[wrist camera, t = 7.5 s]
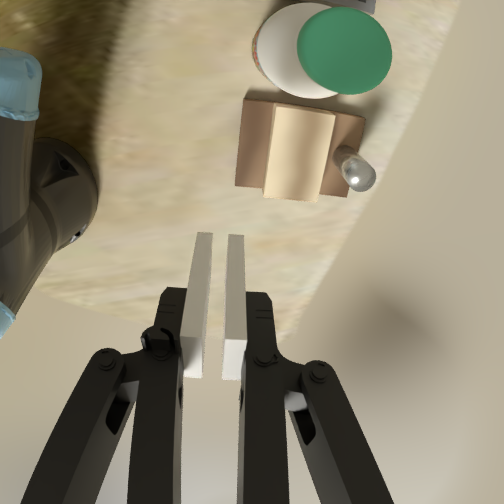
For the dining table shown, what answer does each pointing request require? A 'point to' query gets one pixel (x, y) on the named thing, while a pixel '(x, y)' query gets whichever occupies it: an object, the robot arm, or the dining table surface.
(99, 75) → the dining table surface
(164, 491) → the robot arm
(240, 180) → the board
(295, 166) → the light wooden block
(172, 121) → the dining table surface
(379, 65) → the milk bottle
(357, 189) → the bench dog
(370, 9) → the tray
